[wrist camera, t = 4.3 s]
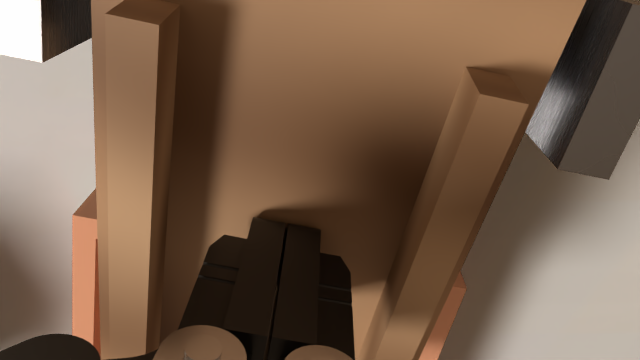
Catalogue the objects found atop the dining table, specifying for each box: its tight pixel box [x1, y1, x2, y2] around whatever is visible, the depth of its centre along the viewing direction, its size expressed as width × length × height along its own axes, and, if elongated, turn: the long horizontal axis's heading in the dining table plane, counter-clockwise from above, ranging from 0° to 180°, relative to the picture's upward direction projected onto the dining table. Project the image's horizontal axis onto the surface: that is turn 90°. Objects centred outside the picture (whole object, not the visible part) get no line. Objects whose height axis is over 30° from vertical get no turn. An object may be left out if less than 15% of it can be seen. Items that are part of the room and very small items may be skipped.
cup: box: [72, 189, 467, 360], centre depth 25 cm, size 14×14×6 cm
